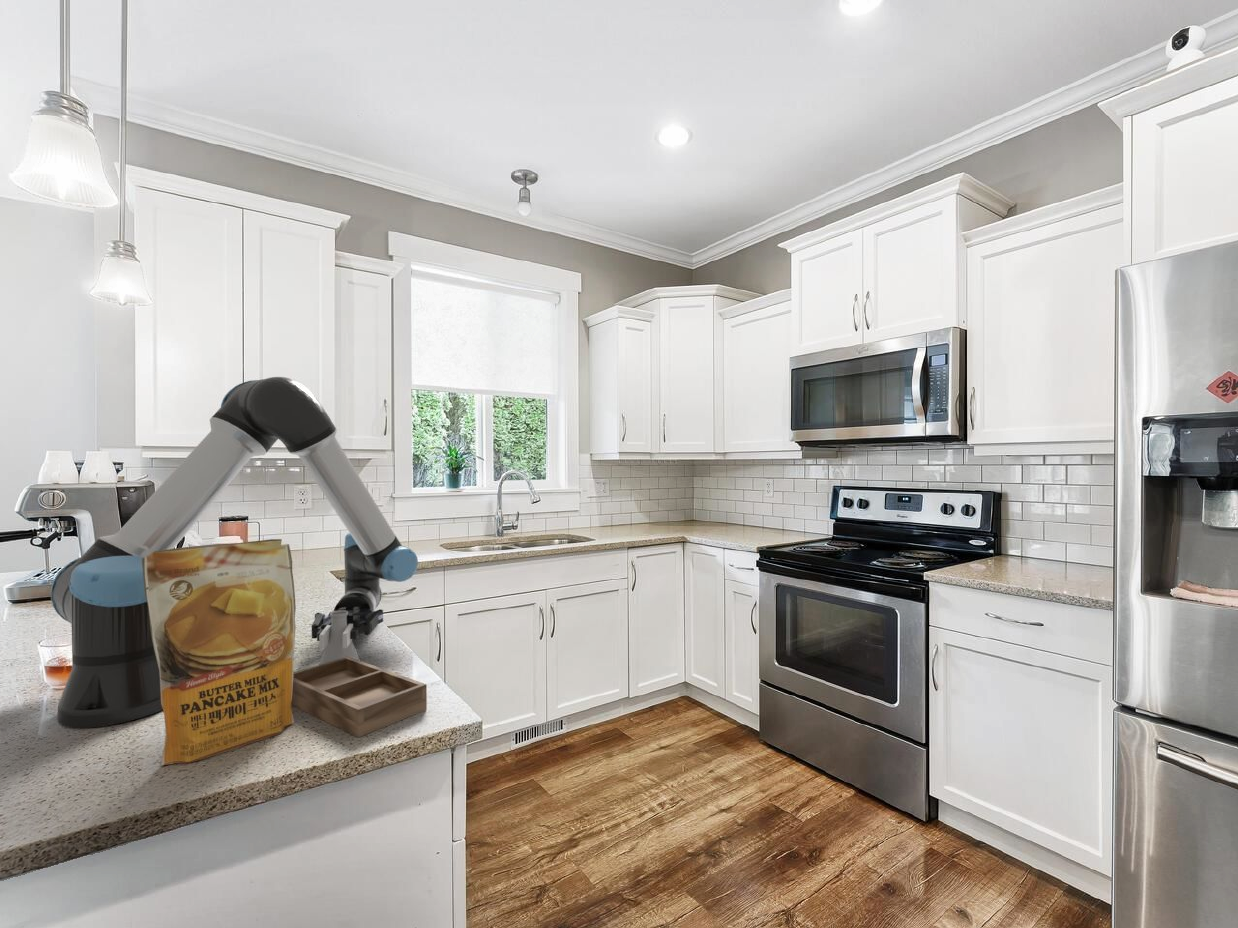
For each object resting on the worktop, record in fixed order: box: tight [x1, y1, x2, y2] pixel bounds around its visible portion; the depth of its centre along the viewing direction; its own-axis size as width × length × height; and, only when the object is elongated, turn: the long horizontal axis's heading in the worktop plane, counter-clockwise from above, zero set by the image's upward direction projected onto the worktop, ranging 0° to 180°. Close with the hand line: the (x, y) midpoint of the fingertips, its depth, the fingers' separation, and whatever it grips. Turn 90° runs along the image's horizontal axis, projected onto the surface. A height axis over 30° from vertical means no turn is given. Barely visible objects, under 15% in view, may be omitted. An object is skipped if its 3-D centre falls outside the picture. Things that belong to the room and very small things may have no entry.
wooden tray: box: [291, 657, 428, 738], centre depth 98 cm, size 22×12×4 cm, turn 55°
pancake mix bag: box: [142, 538, 297, 767], centre depth 85 cm, size 7×19×28 cm, turn 140°
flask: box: [318, 610, 361, 665], centre depth 115 cm, size 7×7×10 cm
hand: (333, 641), depth 109 cm, fingers closed on flask, 3 cm apart
